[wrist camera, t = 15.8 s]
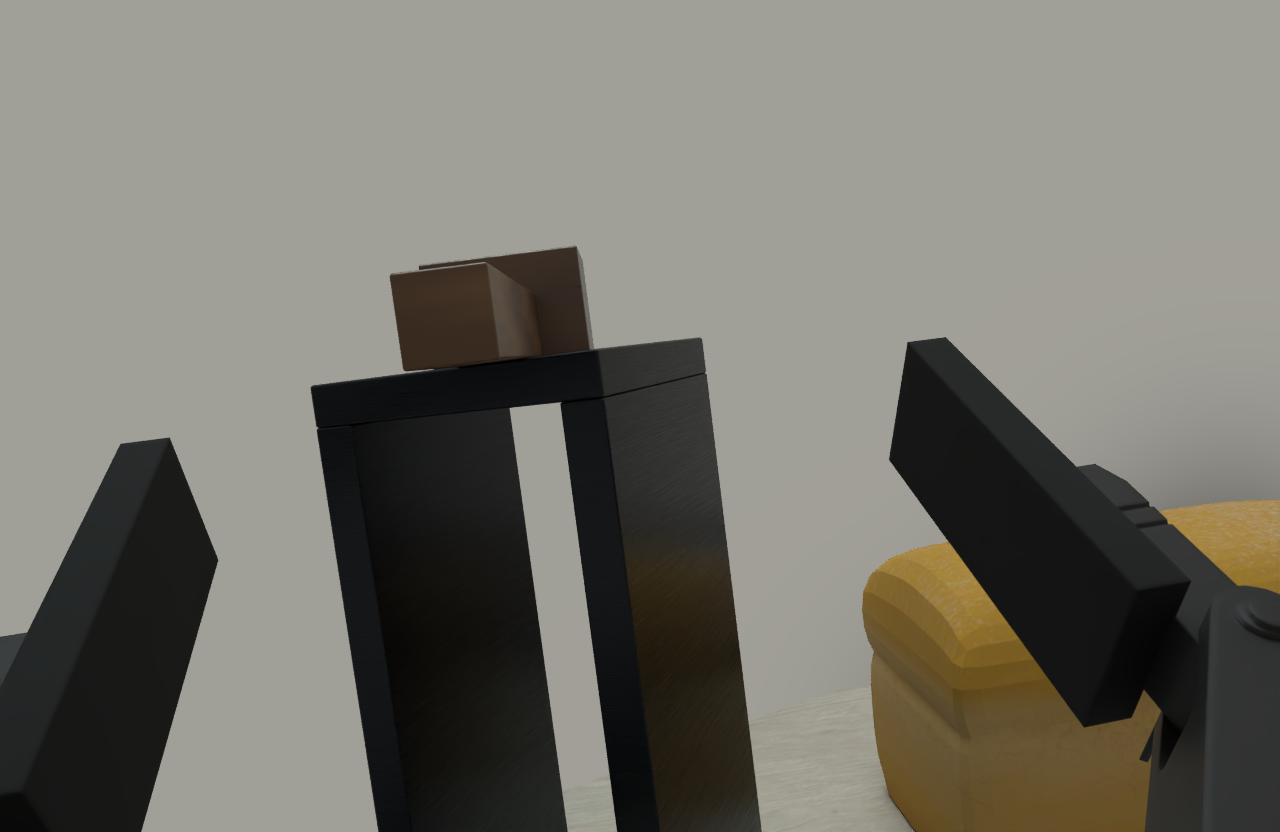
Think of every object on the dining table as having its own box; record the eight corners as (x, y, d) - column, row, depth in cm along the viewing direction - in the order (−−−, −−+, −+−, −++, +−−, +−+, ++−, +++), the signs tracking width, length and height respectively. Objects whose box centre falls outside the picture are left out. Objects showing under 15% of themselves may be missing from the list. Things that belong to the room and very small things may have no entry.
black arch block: (420, 1111, 33) (308, 386, 31) (553, 920, 43) (475, 366, 41) (704, 1176, 29) (597, 348, 27) (776, 949, 39) (702, 337, 37)
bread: (1269, 719, 54) (1251, 474, 53) (1490, 832, 41) (1472, 511, 40) (877, 784, 52) (849, 532, 51) (979, 924, 39) (945, 591, 38)
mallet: (457, 368, 39) (444, 276, 38) (594, 351, 39) (582, 259, 38) (329, 381, 22) (304, 216, 21) (573, 350, 22) (551, 185, 22)
